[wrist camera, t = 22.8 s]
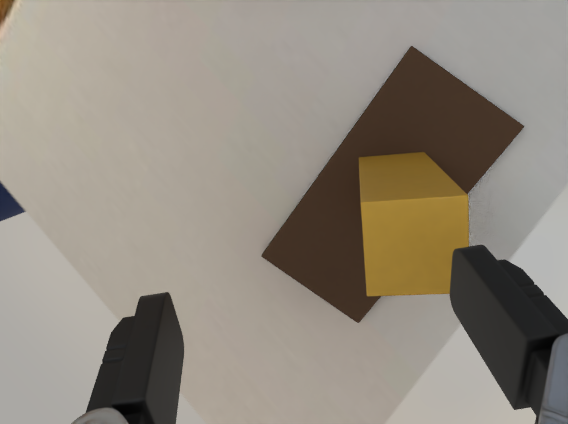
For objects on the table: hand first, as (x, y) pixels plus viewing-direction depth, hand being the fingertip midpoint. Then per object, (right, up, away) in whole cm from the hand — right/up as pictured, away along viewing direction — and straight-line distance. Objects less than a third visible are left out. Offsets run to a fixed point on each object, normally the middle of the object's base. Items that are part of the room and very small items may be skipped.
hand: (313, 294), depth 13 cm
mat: (+6, +4, +20) cm, 21 cm away
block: (+7, +4, +19) cm, 21 cm away
